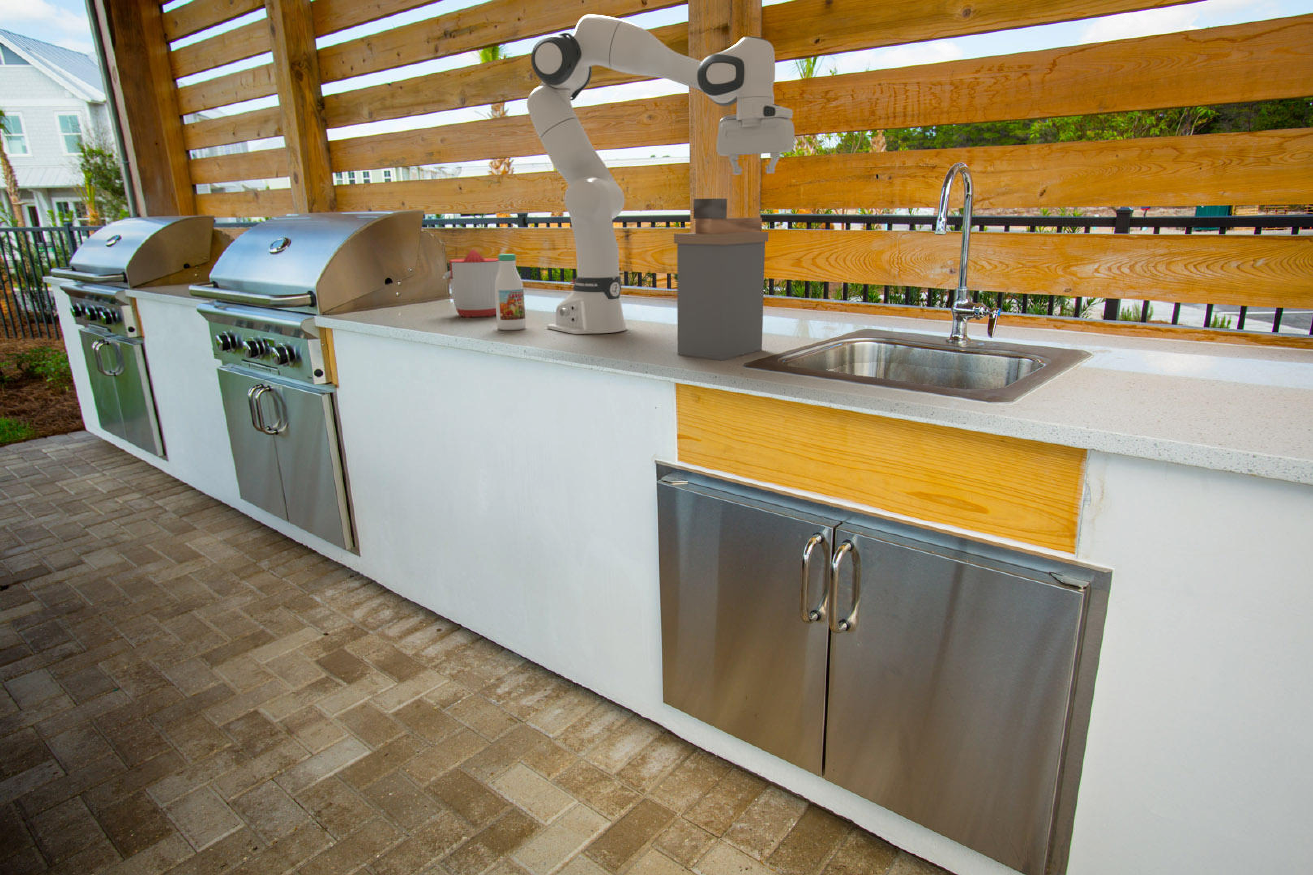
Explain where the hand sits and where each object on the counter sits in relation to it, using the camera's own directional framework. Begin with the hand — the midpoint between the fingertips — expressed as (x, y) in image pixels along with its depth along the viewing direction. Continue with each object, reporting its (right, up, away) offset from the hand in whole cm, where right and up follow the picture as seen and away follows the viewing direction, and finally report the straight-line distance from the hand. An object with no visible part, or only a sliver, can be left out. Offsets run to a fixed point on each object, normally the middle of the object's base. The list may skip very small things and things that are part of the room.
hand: (753, 174), depth 186 cm
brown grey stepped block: (-8, -19, -19) cm, 28 cm away
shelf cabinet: (-9, -45, -14) cm, 48 cm away
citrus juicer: (-80, -27, +52) cm, 99 cm away
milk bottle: (-64, -35, +24) cm, 76 cm away
